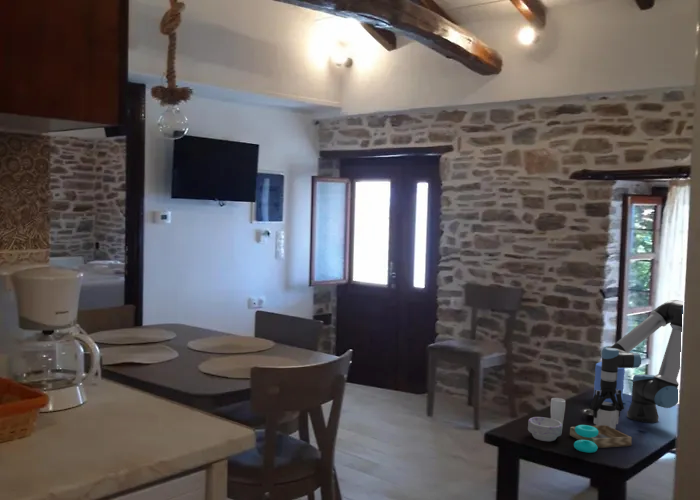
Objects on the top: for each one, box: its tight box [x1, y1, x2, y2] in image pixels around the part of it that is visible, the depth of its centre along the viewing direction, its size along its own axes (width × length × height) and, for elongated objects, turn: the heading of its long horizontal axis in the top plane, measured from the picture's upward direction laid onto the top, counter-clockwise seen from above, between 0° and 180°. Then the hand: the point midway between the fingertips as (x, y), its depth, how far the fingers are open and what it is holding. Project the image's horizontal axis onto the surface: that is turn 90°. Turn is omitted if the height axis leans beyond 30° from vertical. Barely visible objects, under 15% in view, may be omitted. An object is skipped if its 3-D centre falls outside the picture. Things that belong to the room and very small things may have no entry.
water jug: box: [592, 361, 626, 403], centre depth 384 cm, size 16×16×28 cm
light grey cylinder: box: [550, 397, 566, 427], centre depth 326 cm, size 7×7×15 cm
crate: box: [569, 425, 633, 449], centre depth 313 cm, size 20×18×4 cm
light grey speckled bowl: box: [527, 416, 563, 442], centre depth 312 cm, size 15×15×8 cm
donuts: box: [573, 424, 599, 454], centre depth 299 cm, size 10×10×10 cm
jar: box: [595, 402, 617, 430], centre depth 334 cm, size 9×8×12 cm
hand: (605, 423), depth 334 cm, fingers open, 11 cm apart
